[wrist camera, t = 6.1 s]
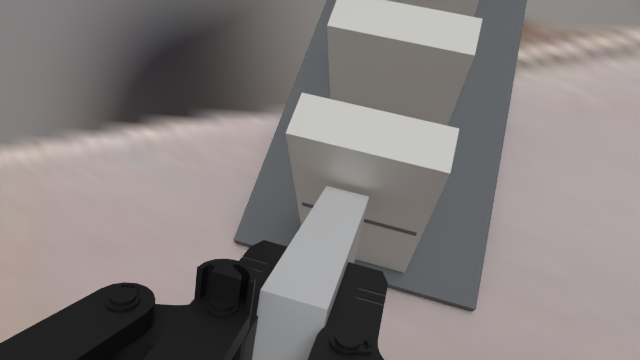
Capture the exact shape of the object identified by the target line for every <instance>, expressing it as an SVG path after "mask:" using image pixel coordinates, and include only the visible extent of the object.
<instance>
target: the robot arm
mask: <svg viewBox="0 0 640 360" xmlns="http://www.w3.org/2000/svg"><path fill="white" fill-rule="evenodd" d="M368 200H369V196H365V195H361V194H357V193H353V192H349V191H345V190H341V189H337V188H333V187H329V186H326V188H325V189H324V191H323V192H322V194H321V196H320V197H319V199H318V200H317V202H316V203H315V205H314V207H313V208H312V210H311V211H310V213H309V214H308V216H307V218H306V219H305V221H304V222H303V224H302V225H301V227H300V229H299V230H298V232H297V233H296V235H295V236H294V238H293V239H292V241H291V243H290V244H289V246H288V247H287V246H284V245H280V244H277V243H273V242H269V241H266V240H263V241H261V242H259V243H257V244H254V245H252V246H251V247H250V248H249V249H248V250H247V252H246V253H245V254H244V255H243V258H241V259H240V260H239V261H236V260H230V259H214V260H211V261H207V262H204V263H203V264H201V265H200V266H199V267H197V276H196V288H195V299H194V300H193V301H192V302H191V303H190V305H161V304H155V297H154V294H153V292H152V291H151V290H150V289H148V288H147V287H146V286H143V285H140V284H137V283H118V284H112V285H109V286H106V287H104V288H101V289H99V290H97V291H96V292H94V293H92V294H90V295H88V296H86V297H85V298H83V299H81V300H79V301H77V302H75V303H74V304H72V305H70V306H68V307H66V308H64V309H62V310H61V311H59V312H57V313H55V314H53V315H51V316H50V317H48V318H46V319H44V320H42V321H40V322H39V323H37V324H35V325H33V326H31V327H29V328H27V329H26V330H24V331H22V332H20V333H18V334H16V335H15V336H13V337H11V338H9V339H7V340H5V341H4V342H2V343H0V360H384V359H383V358H382V356H381V354H380V352H379V349H378V335H379V330H380V324H381V319H382V313H383V308H384V302H385V296H386V291H387V286H388V282H387V280H386V278H385V276H384V274H383V271H379V270H376V269H372V268H368V267H365V266H361V265H358V264H354V261H355V257H356V252H357V248H358V244H359V239H360V235H361V231H362V226H363V222H364V218H365V213H366V209H367V205H368Z"/></svg>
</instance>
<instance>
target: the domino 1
mask: <svg viewBox="0 0 640 360" xmlns="http://www.w3.org/2000/svg"><path fill="white" fill-rule="evenodd" d="M481 24H482V18H476V17H471V16H466V15H461V14H455V13H450V12H445V11H440V10H434V9H429V8H424V7H419V6H413V5H408V4H403V3H398V2H392V1H387V0H336V3H335V6H334V8H333V11H332V14H331V16H330V19H329V22H328V24H327V36H328V60H329V83H330V99H332V100H337V101H341V102H346V103H350V104H354V105H359V106H363V107H367V108H372V109H376V110H381V111H385V112H389V113H394V114H398V115H402V116H407V117H411V118H416V119H420V120H424V121H429V122H433V123H437V124H442V125H446V126H447V125H448V123H449V120H450V118H451V115H452V113H453V110H454V107H455V105H456V102H457V100H458V97H459V95H460V92H461V90H462V87H463V84H464V82H465V79H466V77H467V74H468V72H469V69H470V67H471V64H472V62H473V59H474V56H475V53H476V48H477V43H478V38H479V33H480V29H481Z"/></svg>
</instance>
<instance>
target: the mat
mask: <svg viewBox="0 0 640 360" xmlns="http://www.w3.org/2000/svg"><path fill="white" fill-rule="evenodd" d="M526 2H527V0H479V3H478V6H477V9H476V12H475V14H474V17H476V18H482V24H481V29H480V33H479V38H478V43H477V48H476V53H475V56H474V59H473V62H472V64H471V67H470V69H469V72H468V74H467V77H466V79H465V82H464V84H463V87H462V90H461V92H460V95H459V97H458V100H457V102H456V105H455V107H454V110H453V113H452V115H451V118H450V120H449V123H448V125H447V126H451V127H455V128H459V133H458V138H457V143H456V148H455V153H454V158H453V163H452V168H451V173H450V175H449V177H448V180H447V182H446V184H445V186H444V188H443V190H442V193H441V195H440V197H439V199H438V201H437V203H436V206H435V208H434V210H433V212H432V214H431V216H430V219H429V221H428V223H427V225H426V227H425V229H424V232H423V234H422V236H421V238H420V240H419V242H418V245H417V247H416V249H415V251H414V253H413V255H412V258H411V260H410V262H409V264H408V266H407V268H406V271H405V273H402V272H399V271H395V270H392V269H388V268H385V267H381V266H377V265H374V264H370V263H367V262H363V261H360V260H356V259H355V261H354V264H358V265H361V266H365V267H368V268H372V269H376V270H379V271H383V274H384V276H385V278H386V280H387V282H388V286H387V287H390V288H393V289H397V290H400V291H404V292H407V293H411V294H414V295H418V296H421V297H424V298H428V299H431V300H435V301H438V302H442V303H445V304H449V305H452V306H456V307H459V308H463V309H466V310H470V311H474V310H475V309H476V304H477V298H478V292H479V286H480V280H481V274H482V268H483V262H484V256H485V250H486V244H487V238H488V232H489V226H490V220H491V214H492V207H493V201H494V195H495V189H496V183H497V177H498V171H499V165H500V159H501V153H502V147H503V141H504V135H505V129H506V123H507V117H508V111H509V105H510V99H511V93H512V87H513V80H514V74H515V68H516V62H517V56H518V50H519V44H520V38H521V32H522V26H523V20H524V14H525V8H526ZM335 3H336V0H327V1H326V4H325V6H324V9H323V11H322V14H321V17H320V19H319V22H318V24H317V27H316V30H315V32H314V35H313V37H312V40H311V43H310V45H309V47H308V50H307V53H306V55H305V58H304V60H303V63H302V65H301V68H300V71H299V73H298V76H297V78H296V81H295V83H294V86H293V89H292V91H291V94H290V96H289V99H288V102H287V104H286V107H285V109H284V112H283V114H282V117H281V119H280V122H279V125H278V127H277V130H276V132H275V135H274V137H273V140H272V143H271V145H270V148H269V150H268V153H267V155H266V158H265V161H264V163H263V166H262V168H261V171H260V173H259V176H258V179H257V181H256V184H255V186H254V189H253V191H252V194H251V197H250V199H249V202H248V204H247V207H246V209H245V212H244V215H243V217H242V220H241V222H240V225H239V227H238V230H237V233H236V235H235V238H234V241H235V242H236V243H237V244H241V245H244V246H248V247H251V246H252V245H254V244H257V243H259V242H261V241H263V240H266V241H269V242H273V243H277V244H280V245H284V246H287V247H288V246H289V244H290V243H291V241H292V239H293V238H294V236H295V235H296V233H297V232H298V230H299V229H300V227H301V222H300V216H299V210H298V204H297V198H296V192H295V186H294V180H293V174H292V168H291V162H290V156H289V151H288V145H287V139H286V131H287V128H288V126H289V123H290V121H291V118H292V116H293V113H294V111H295V108H296V106H297V103H298V101H299V98H300V96H301V93H306V94H311V95H315V96H319V97H324V98H328V99H330V83H329V60H328V36H327V24H328V22H329V19H330V16H331V14H332V11H333V8H334V6H335Z"/></svg>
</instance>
